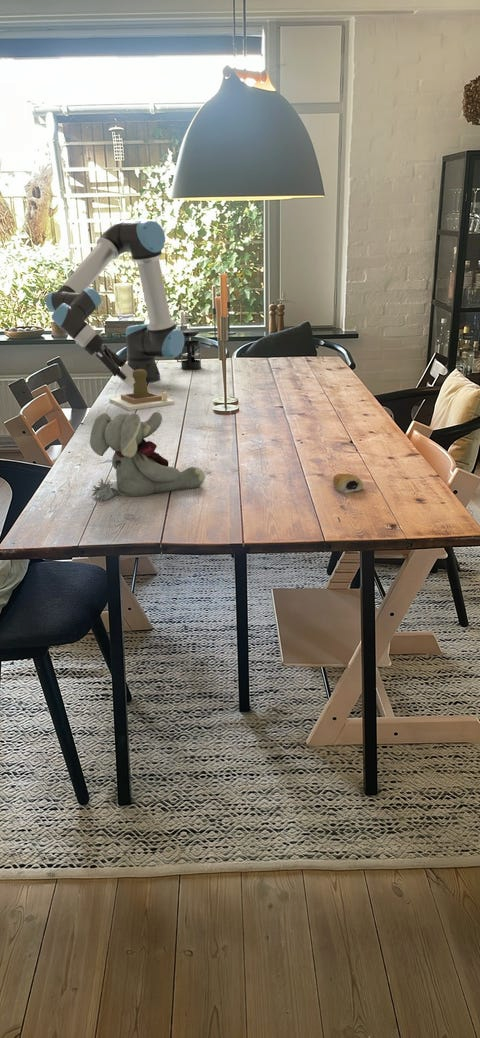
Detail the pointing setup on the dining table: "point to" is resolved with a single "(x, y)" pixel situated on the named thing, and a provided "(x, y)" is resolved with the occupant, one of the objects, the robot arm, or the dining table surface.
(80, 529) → the dining table surface
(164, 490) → the plush elephant
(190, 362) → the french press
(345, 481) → the pastry
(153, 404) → the seat board
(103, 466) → the dining table surface
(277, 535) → the dining table surface
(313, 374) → the dining table surface
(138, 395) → the cork
